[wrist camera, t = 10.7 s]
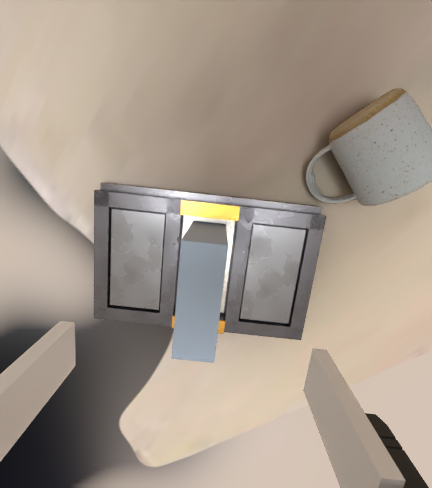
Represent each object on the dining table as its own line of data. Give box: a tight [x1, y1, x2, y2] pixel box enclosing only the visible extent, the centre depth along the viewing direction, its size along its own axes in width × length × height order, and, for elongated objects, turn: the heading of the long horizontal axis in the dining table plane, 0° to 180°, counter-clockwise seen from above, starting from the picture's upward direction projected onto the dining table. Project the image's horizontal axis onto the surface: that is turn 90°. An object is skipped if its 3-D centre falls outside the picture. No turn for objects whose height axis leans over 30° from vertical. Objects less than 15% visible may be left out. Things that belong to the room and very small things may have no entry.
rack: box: [94, 183, 326, 340], centre depth 31 cm, size 16×24×3 cm, turn 84°
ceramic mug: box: [306, 89, 432, 206], centre depth 26 cm, size 11×8×8 cm
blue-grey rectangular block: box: [172, 221, 228, 363], centre depth 26 cm, size 10×4×10 cm, turn 174°
